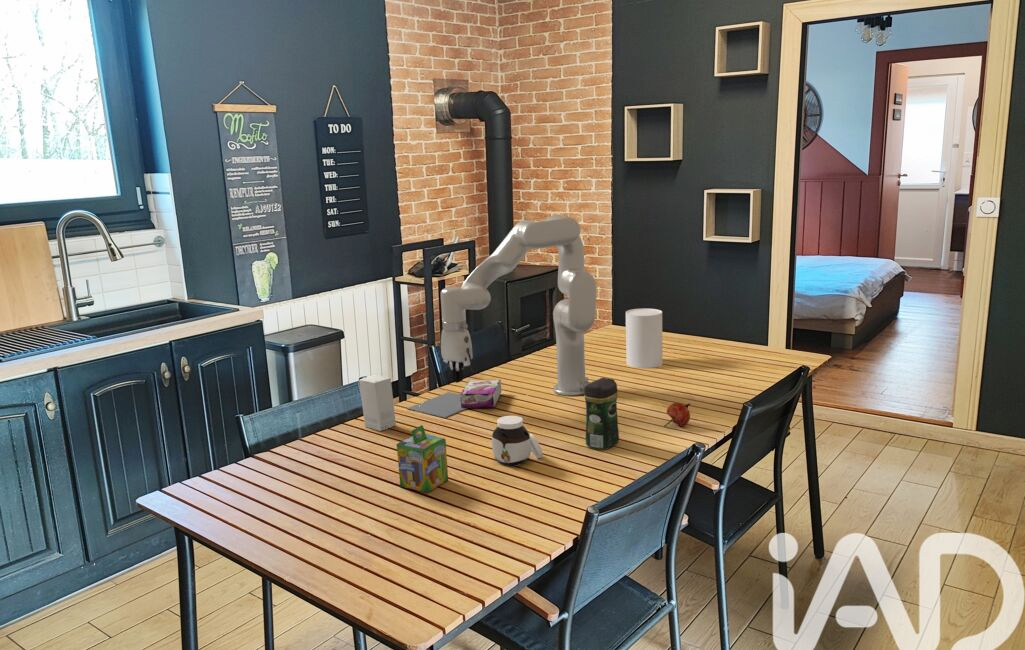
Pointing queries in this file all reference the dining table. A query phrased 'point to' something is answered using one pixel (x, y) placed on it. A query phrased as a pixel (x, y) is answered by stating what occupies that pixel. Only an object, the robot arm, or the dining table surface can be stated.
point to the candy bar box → (480, 393)
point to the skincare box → (377, 402)
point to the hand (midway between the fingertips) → (457, 381)
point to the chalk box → (422, 461)
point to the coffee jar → (601, 413)
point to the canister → (644, 338)
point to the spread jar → (513, 442)
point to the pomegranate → (679, 414)
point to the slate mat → (441, 405)
